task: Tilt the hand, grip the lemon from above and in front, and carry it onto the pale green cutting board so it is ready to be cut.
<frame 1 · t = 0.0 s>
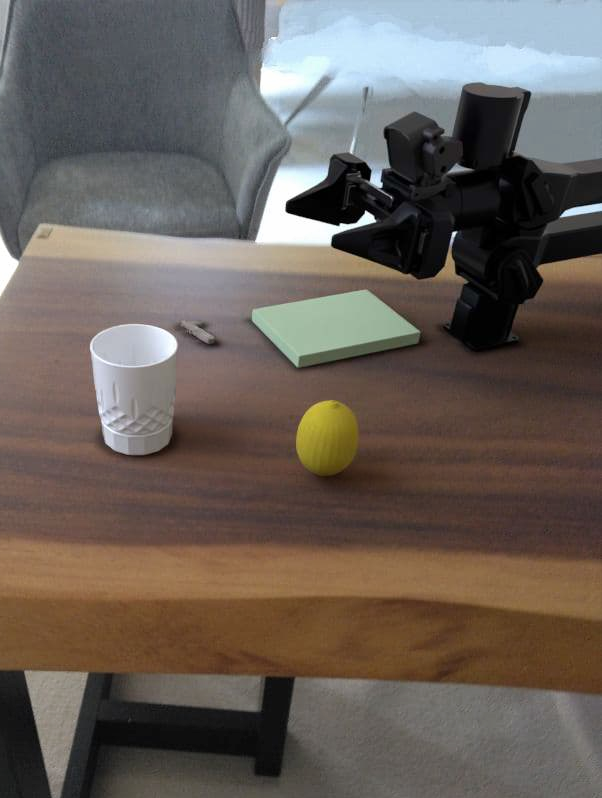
hand: (308, 223, 76), 17 cm above the table, tool horizontal, fingers open, 9 cm apart
lemon: (321, 476, 74), on the table
cutting board: (333, 331, 95), on the table
white cup: (137, 437, 78), on the table
pocket knife: (201, 334, 94), on the table
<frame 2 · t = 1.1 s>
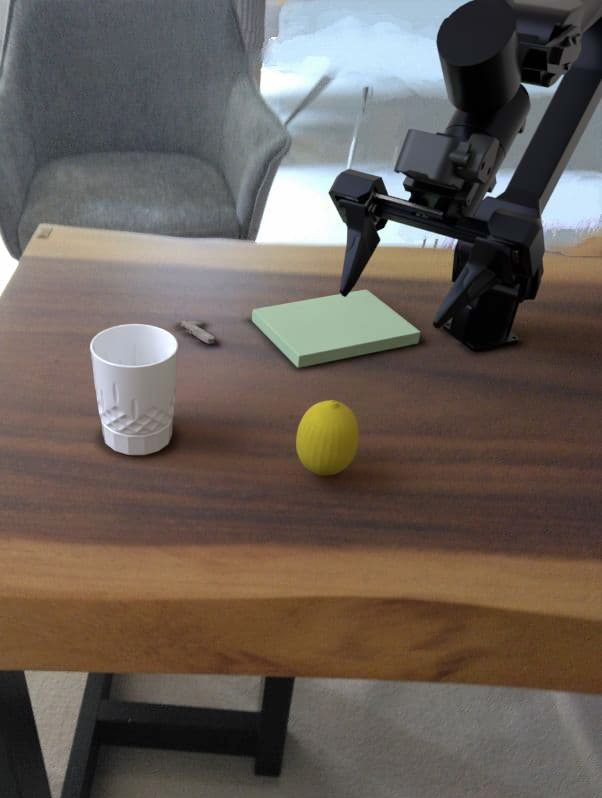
hand: (387, 310, 69), 14 cm above the table, tool tilted 45°, fingers open, 9 cm apart
nothing on the table moved.
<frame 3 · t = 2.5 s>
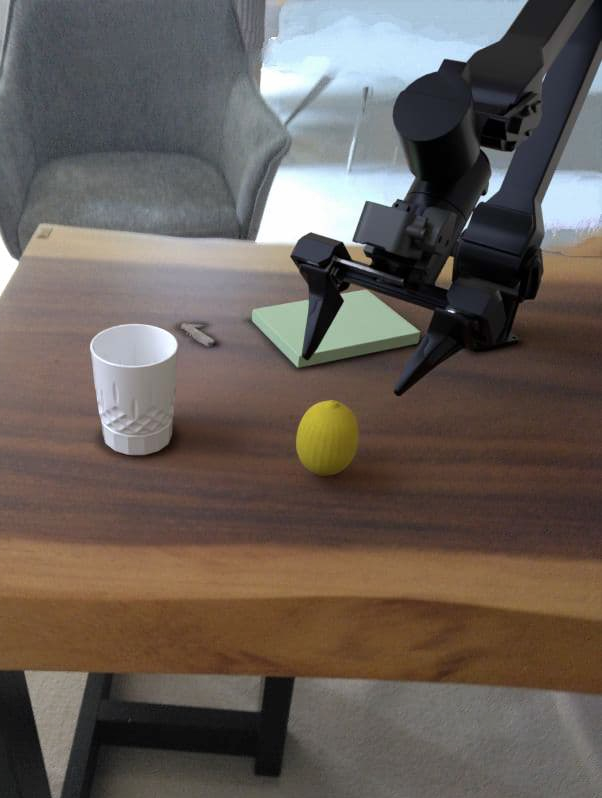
hand: (349, 376, 69), 9 cm above the table, tool tilted 45°, fingers open, 9 cm apart
nothing on the table moved.
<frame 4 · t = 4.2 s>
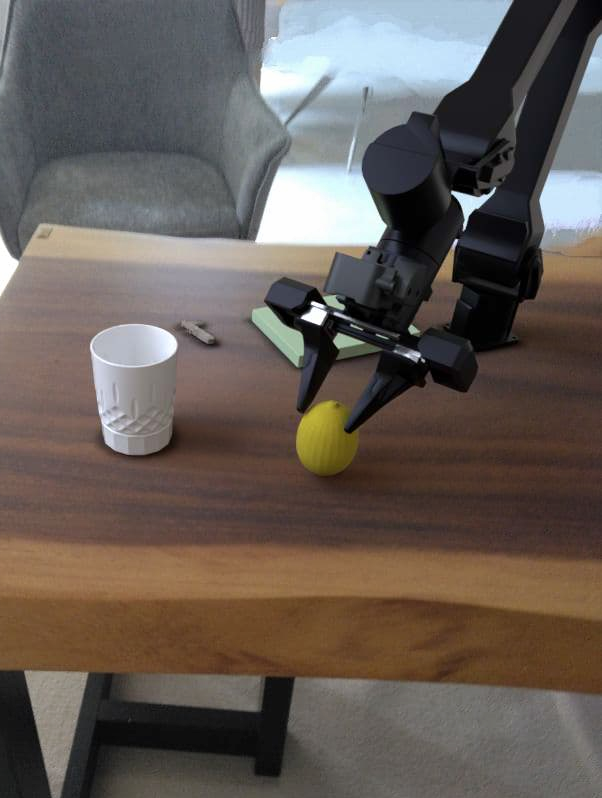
hand: (322, 422, 69), 7 cm above the table, tool tilted 45°, fingers closed on lemon, 4 cm apart
lemon: (321, 476, 74), on the table, touching gripper
everything else where it was.
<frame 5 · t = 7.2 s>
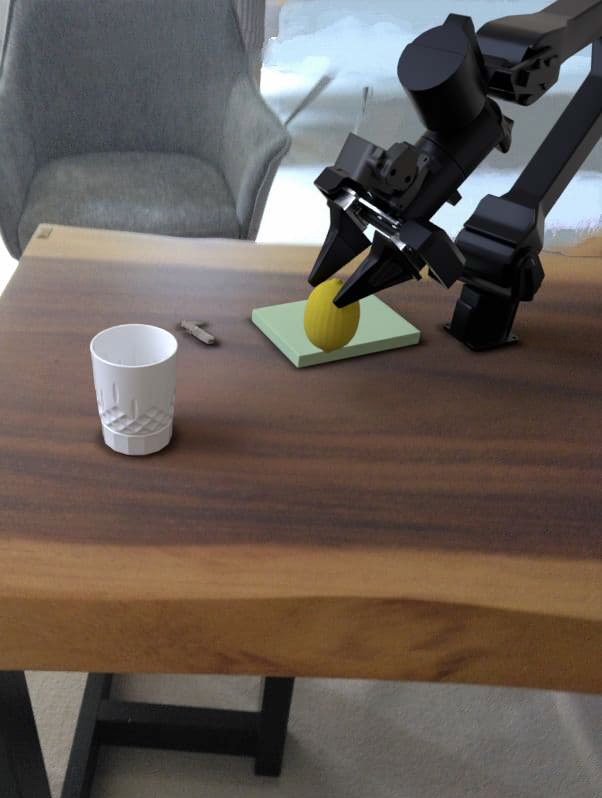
hand: (322, 294, 77), 11 cm above the table, tool tilted 45°, fingers closed on lemon, 4 cm apart
lemon: (326, 354, 82), point 4 cm above the table, touching gripper
everything else where it was.
when the fingers open (8 cm above the table, at t = 10.4 s): lemon stays where it is, resting on cutting board.
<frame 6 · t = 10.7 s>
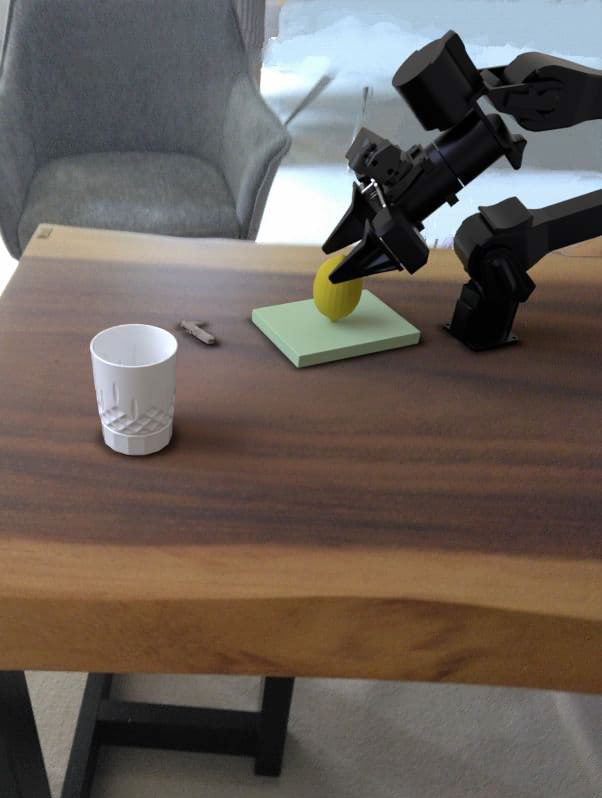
hand: (326, 265, 89), 8 cm above the table, tool tilted 45°, fingers open, 7 cm apart
lemon: (332, 322, 94), point 1 cm above the table, touching cutting board
everything else where it was.
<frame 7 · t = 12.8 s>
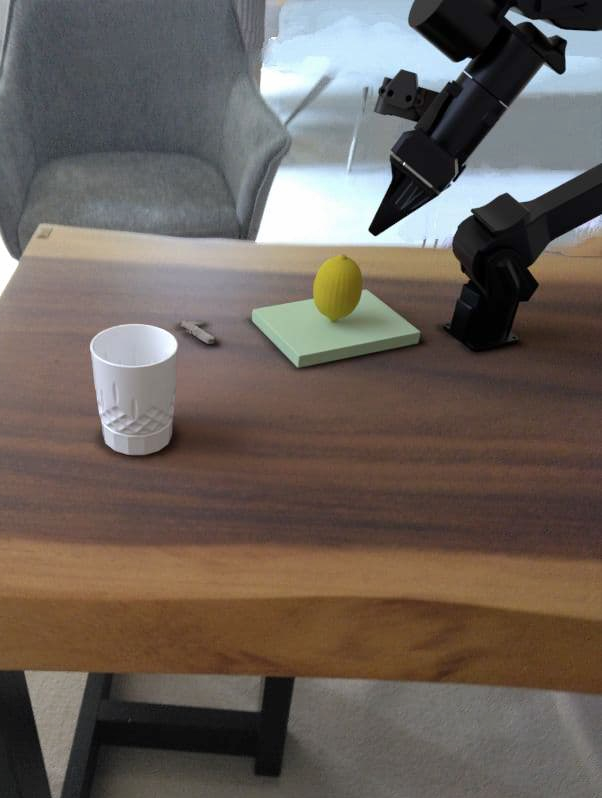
hand: (378, 228, 85), 13 cm above the table, tool tilted 30°, fingers open, 9 cm apart
nothing on the table moved.
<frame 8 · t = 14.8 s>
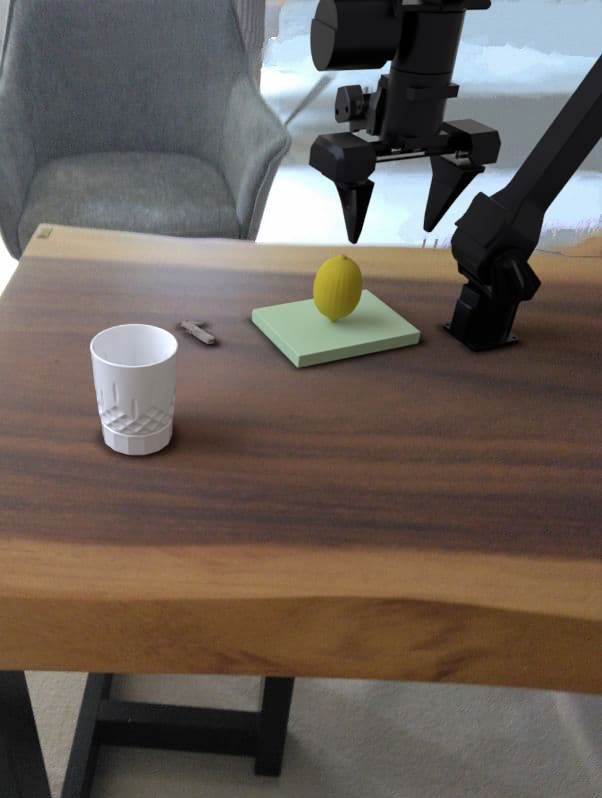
hand: (390, 236, 83), 13 cm above the table, tool pointing down, fingers open, 9 cm apart
nothing on the table moved.
at the end: lemon inside the target area on the cutting board (0.3 cm from its centre), point 1.3 cm above the cutting board's base; the gripper is holding nothing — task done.
